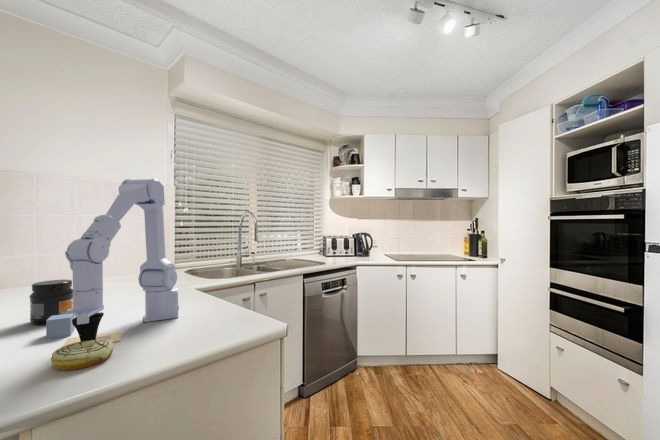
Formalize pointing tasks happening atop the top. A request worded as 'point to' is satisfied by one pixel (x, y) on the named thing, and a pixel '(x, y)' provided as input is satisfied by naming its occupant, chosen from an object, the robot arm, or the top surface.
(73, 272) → the robot arm
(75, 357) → the decorated donut
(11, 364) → the top surface
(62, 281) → the supplement container
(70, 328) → the powder blue cube
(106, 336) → the letter card
